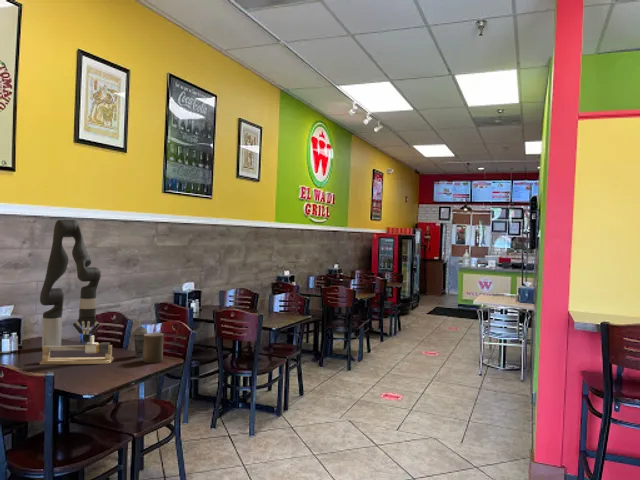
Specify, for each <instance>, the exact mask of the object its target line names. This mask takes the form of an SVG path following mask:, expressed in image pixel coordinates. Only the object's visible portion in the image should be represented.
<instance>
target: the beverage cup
mask: <svg viewBox="0 0 640 480" xmlns="http://www.w3.org/2000/svg"><path fill="white" fill-rule="evenodd" d="M147 333H148V329H146V328H145V327H144V326H141V319H140V318H138V327H137V328H136V329H135V330H134V331H133V339H134V341H133V342H134V353H135V358H143V347H144V334H147Z"/></svg>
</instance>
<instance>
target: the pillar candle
mask: <svg viewBox="0 0 640 480" xmlns="http://www.w3.org/2000/svg"><path fill="white" fill-rule="evenodd" d="M161 361H162V362H163V361H164V333H162V332H149V333H147V334H144V347H143V357H142V362H143V363H145V364H146V363H147V364H157V362H158V363H161Z"/></svg>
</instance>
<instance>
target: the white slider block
mask: <svg viewBox="0 0 640 480" xmlns="http://www.w3.org/2000/svg"><path fill="white" fill-rule="evenodd" d="M97 344H100V343H99V342H98V341H97V342H96V341H95V335H90V340H89V341H88V342H85V350H84V354H97V353H98V352H96V345H97Z"/></svg>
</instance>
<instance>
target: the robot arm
mask: <svg viewBox="0 0 640 480" xmlns="http://www.w3.org/2000/svg"><path fill="white" fill-rule="evenodd" d="M64 238H73V239H74V244H73V247H72V253H71V255H72V258H73V261H74V263H75V266H76V275H77V279H78V280H79V281H81V282H83V283H84V282H86V283H87V282H89V283H88V284H87V285H85V286H81V288H80V298H79V305H78V307H79V309H78V319H77V321H76V322H73V324H72V326H73V327H74V328H75V329H76V330H77V332H78V334H82V341H83V342H84V343H88V342H90V337H91V334H93V333H95V331H97V329H98V328H99V327H100V326H101V324H102V323H101V322H98V320H97V318H96V317H97V316H96V315H97V314H96V312H97V311H96V310H97V289H98V287H99V286H98V285H99V282H100V280H101V276H102V274H101V269H100V268H98V267H95V266H93V267H92V266H91V264H92V259H91V257H90V255H89V253H88V251H87V248H86V245H85V242H84V237H83V234H82V229H81V226H80V224H79V222H78V221H77V220H75V219H58V220H56V222H55V224H54V228H53V237H52V244H51V250H50V254H49V258H48V262H47V268H46V273H45V278H44V280H43V284H42V289H41V291H40V294H39V302H40V304H41V305H42V306H44V307H45V306H53V307H51V308H50V309H49V310H46V311H45V312H43V313H42V330H41V331H42V336H41V339H42V340H41V350H42V351H43V346H62V328H63V327H62V325H63V324H62V323H63V322H62V321H63V318H62V317H63V307H64V295H65V294H64V290H63V289H62V288H61V287H60V288H59V287H53V286H54V285H55V283H56V282H58V281H59V279H60V278H62V276H63V275H64V274H65V273H66V271H67V269H68V265H69V255H68V254H67V252H66V250H65V249H64V246H63V239H64ZM89 266H91V267H89ZM93 326H94V327H93ZM92 327H93V328H92Z"/></svg>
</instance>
